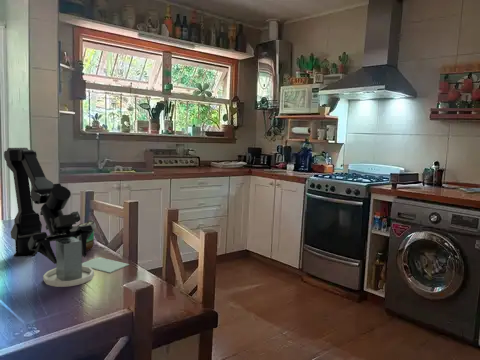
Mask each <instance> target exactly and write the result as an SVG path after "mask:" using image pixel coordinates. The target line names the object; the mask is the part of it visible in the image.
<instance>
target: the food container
mask: <svg viewBox="0 0 480 360" xmlns="http://www.w3.org/2000/svg"><path fill="white" fill-rule="evenodd" d="M83 225H91V226H92V228H93V230H94V231H93V232H92V234H91V235H90V237H89V239H87V241H86V251H88V249H89V250H92V249H93V248H92V247H94V239H95V238H94V237H95V229H96V228H97V225H96V222H95V221H94V220H93V219H87V222H84V223H79V224H77V225H75V226H74V225H72V226H73V228H72V229H70V232H72V231H76V230H77V229H78V227H79V226H83ZM74 238H75V237H74ZM91 248H92V249H91Z"/></svg>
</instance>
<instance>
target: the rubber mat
mask: <svg viewBox="0 0 480 360" xmlns="http://www.w3.org/2000/svg"><path fill="white" fill-rule="evenodd" d="M82 265H83V266H87V267H91V268H92V269H93V270H94V271H95V270H96V271H100V272H103V273H107V274H113V273H115V272H116V271H118V270H121V269H123V268H126V267H128V266H130V264H129V263H125V262H122V261H117V260H113V259H108V258H104V257H100V256H98V257H96V258H92V259H90V260H87V261H84V262H82Z"/></svg>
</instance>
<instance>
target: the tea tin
mask: <svg viewBox="0 0 480 360" xmlns="http://www.w3.org/2000/svg"><path fill="white" fill-rule="evenodd" d="M55 257H56V260H57V263H56V265H55V266H56V267H55V268H56V274H57V278H58V279H60V280H61V281H71V280H76V279H79V278H82V263H83V258H82V257H83V255H82V241H81V240H79V239H76V238H74V237H71V238H65V239H60V240H56V241H55Z"/></svg>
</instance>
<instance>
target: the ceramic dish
mask: <svg viewBox="0 0 480 360" xmlns="http://www.w3.org/2000/svg"><path fill="white" fill-rule="evenodd" d="M94 276H95V269H92V268H91V267H87V266H83V265H82V278H79V279H76V280H71V281H61V280H60V279H58V278H57V274H56V267H55V268H52V269H50V270H47V271H46V272H45V273H44V275H43V276H42V277H43V278H42V279H43V282H44V283H45V284H46V285H47V286H51V287H56V288H57V287H58V288H59V287H61V288H63V287H64V288H65V287H73V286H78V285H82V284H85V283H87V282H89V281H91V280H92V279H93V278H94Z"/></svg>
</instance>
